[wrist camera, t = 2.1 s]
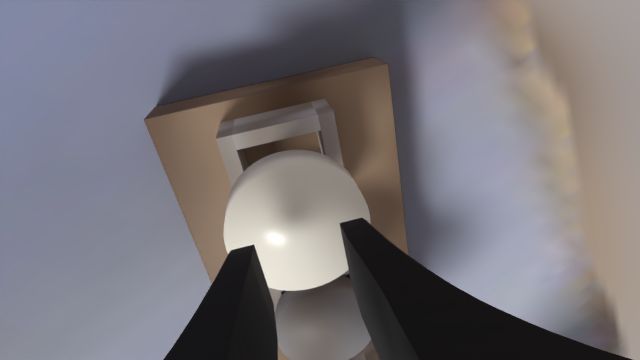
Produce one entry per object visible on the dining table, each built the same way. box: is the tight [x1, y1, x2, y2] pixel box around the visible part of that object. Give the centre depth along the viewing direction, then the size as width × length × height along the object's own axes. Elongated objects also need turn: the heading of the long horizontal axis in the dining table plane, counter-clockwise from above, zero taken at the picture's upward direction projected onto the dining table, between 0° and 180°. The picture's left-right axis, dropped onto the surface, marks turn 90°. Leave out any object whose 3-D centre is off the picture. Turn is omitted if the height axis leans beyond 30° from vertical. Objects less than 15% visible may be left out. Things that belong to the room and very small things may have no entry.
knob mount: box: [144, 57, 408, 360], centre depth 19 cm, size 10×20×5 cm, turn 10°
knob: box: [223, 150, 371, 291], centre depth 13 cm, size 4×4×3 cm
